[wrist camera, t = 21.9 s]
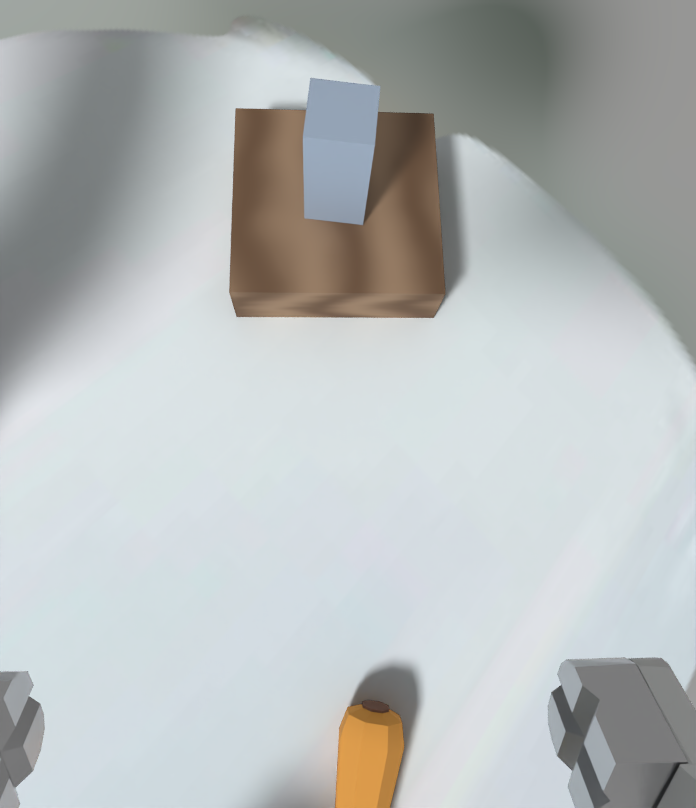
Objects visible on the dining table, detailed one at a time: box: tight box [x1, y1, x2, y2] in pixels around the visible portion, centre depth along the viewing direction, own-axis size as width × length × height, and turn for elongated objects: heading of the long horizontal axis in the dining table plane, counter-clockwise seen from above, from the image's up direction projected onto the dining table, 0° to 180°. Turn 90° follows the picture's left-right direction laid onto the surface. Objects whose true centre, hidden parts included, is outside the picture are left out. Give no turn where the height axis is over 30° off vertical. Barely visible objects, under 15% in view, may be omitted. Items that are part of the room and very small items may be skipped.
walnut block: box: [229, 108, 445, 318], centre depth 49 cm, size 16×16×5 cm
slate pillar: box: [303, 78, 380, 225], centre depth 43 cm, size 4×4×9 cm
